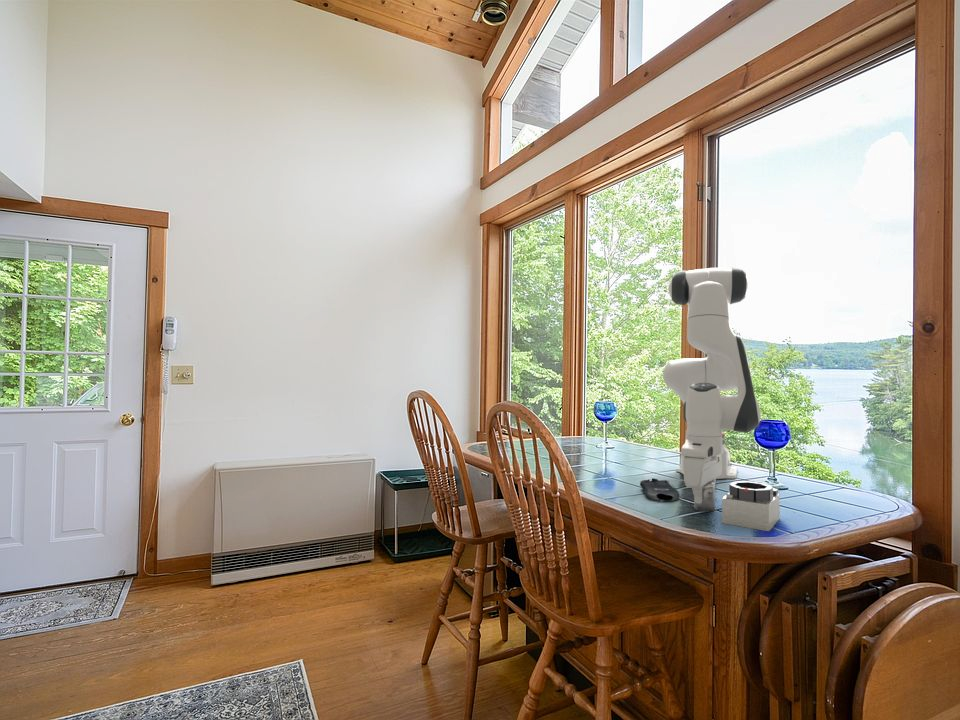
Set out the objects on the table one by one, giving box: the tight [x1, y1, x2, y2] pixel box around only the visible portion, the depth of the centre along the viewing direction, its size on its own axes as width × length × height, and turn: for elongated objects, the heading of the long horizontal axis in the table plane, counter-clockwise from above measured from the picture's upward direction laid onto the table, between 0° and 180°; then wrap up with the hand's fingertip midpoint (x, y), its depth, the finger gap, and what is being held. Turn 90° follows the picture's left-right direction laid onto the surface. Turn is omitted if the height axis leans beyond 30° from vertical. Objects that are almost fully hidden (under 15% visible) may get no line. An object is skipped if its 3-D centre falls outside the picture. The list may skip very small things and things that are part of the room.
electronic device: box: [639, 478, 680, 503], centre depth 154 cm, size 9×6×15 cm
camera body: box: [721, 480, 781, 532], centre depth 129 cm, size 13×10×9 cm
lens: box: [693, 481, 716, 513], centre depth 140 cm, size 5×5×7 cm
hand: (704, 498), depth 140 cm, fingers open, 8 cm apart
